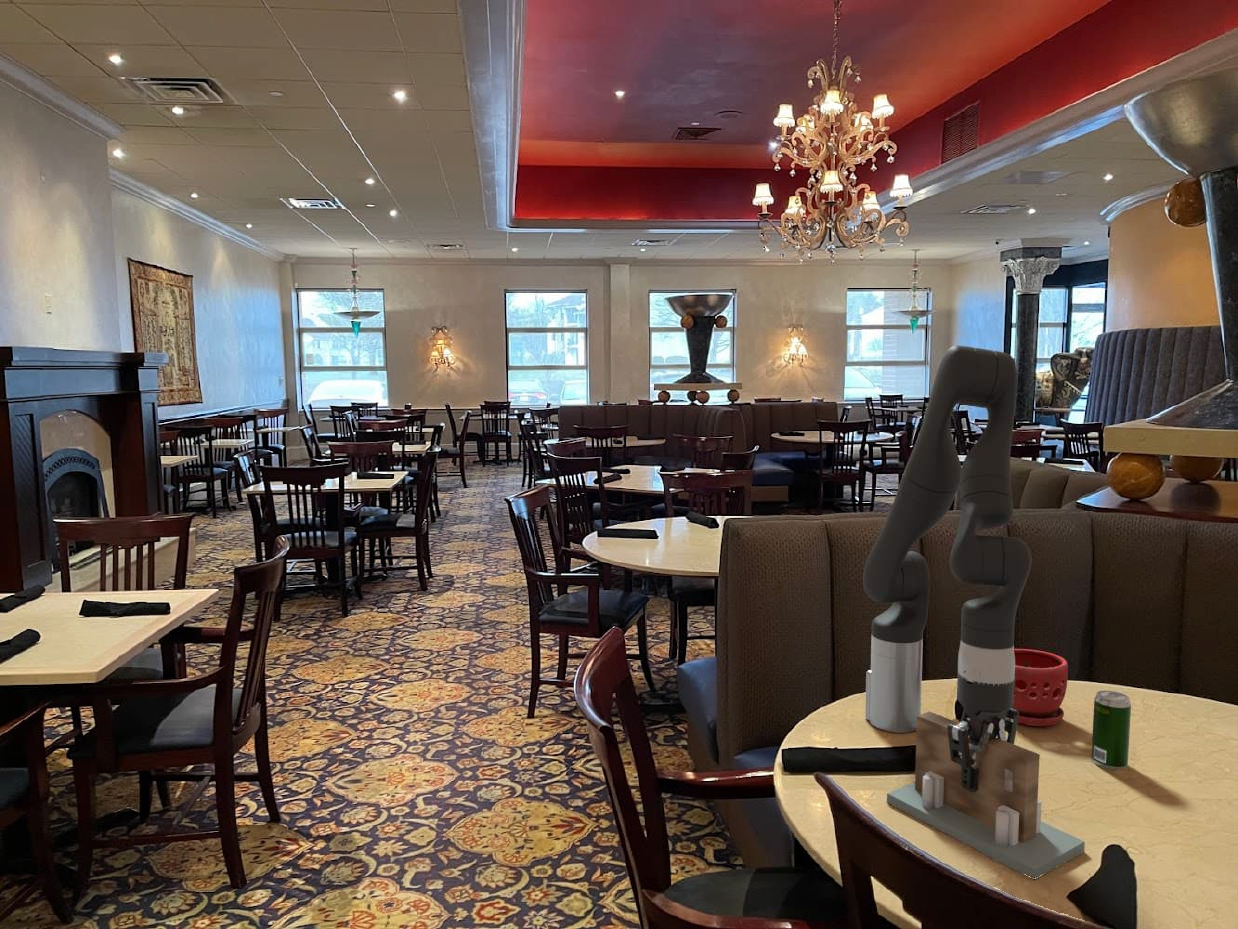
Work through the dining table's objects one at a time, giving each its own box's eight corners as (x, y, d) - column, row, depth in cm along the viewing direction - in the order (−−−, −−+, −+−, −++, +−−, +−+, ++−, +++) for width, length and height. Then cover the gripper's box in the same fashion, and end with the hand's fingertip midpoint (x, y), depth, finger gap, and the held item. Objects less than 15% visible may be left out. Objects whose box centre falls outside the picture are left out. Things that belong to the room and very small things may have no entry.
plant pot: (1058, 708, 165) (1061, 649, 163) (1071, 735, 152) (1074, 672, 151) (987, 700, 169) (989, 643, 168) (993, 726, 156) (996, 664, 155)
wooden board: (914, 789, 130) (916, 715, 128) (927, 784, 131) (929, 711, 130) (1023, 843, 114) (1026, 760, 113) (1036, 836, 116) (1040, 754, 115)
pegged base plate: (886, 802, 129) (887, 765, 128) (936, 782, 135) (937, 746, 134) (1034, 880, 108) (1036, 836, 108) (1084, 851, 115) (1086, 810, 114)
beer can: (1117, 774, 137) (1121, 704, 136) (1084, 762, 142) (1088, 694, 140) (1133, 765, 140) (1137, 697, 139) (1100, 753, 145) (1104, 687, 143)
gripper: (992, 656, 126) (988, 762, 128) (931, 674, 119) (928, 787, 120) (1039, 670, 120) (1034, 781, 122) (978, 690, 112) (974, 809, 114)
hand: (981, 784), depth 121 cm, fingers open, 5 cm apart
